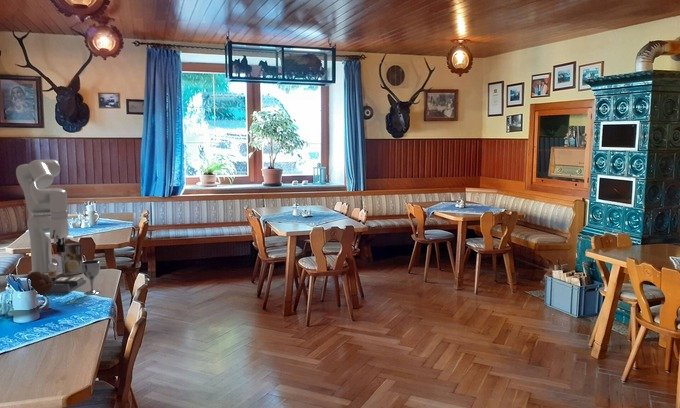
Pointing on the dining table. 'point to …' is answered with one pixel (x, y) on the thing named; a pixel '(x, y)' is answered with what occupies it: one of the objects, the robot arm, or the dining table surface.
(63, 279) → the label
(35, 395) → the dining table surface
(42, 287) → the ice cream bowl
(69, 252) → the coffee box
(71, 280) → the label
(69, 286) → the psu chassis
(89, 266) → the wine glass
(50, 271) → the swing arm
